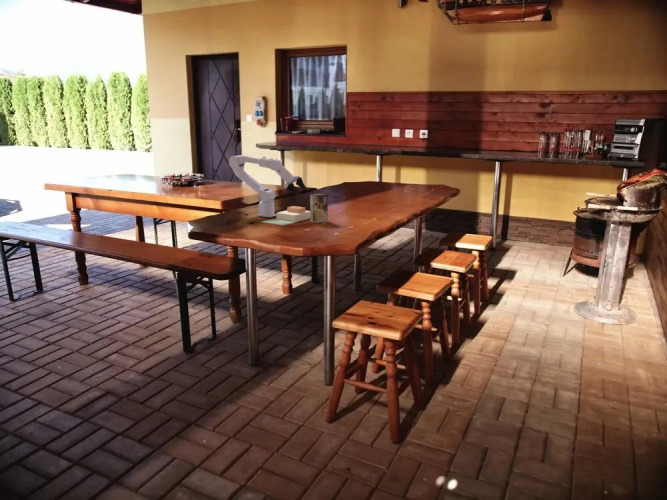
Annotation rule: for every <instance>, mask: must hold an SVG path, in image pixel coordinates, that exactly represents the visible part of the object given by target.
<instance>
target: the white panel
mask: <svg viewBox="0 0 667 500" xmlns="http://www.w3.org/2000/svg"><path fill="white" fill-rule="evenodd" d="M276 215H277V216H276V219H282V220H288V221H295V222H296V223H298V222H301V221H305V220H310V210H305V212H302V213H294V212H287V210H283V211H278V212H276Z"/></svg>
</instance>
